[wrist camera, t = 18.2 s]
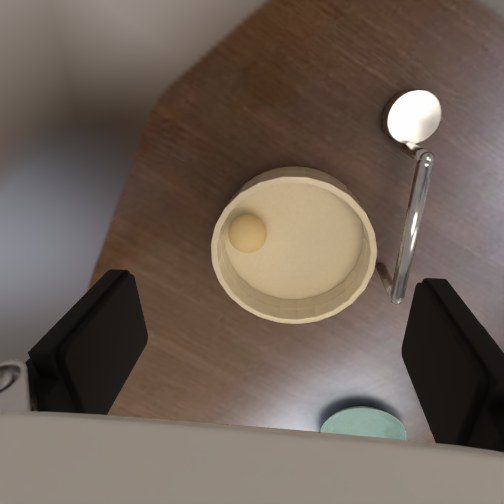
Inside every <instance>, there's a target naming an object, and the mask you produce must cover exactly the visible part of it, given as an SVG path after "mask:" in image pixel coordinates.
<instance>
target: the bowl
mask: <svg viewBox="0 0 504 504" xmlns="http://www.w3.org/2000/svg"><path fill="white" fill-rule="evenodd" d="M246 214H250V215H254V216H256V217H258V218H259V219H261V220H262V222H263V223H264V225H265V227H266V231H267V237H266V241H265V243H264V244H263V246H262V247H261V248H260V249H259V250H257V251H255V252H252V253H243V252H240V251H238V250H236V249H235V248H234V247H233V246H232V244H231V243H230V240H229V237H228V230H229V227H230V225H231V223H232V222H233V220H234V219H236V218H237V217H239V216H241V215H246ZM211 253H212V264H213V267H214V270H215V272H216V275H217V278H218V280H219V282H220V284H221V285H222V286H223V288H224V289H225V291H226V292H227V293H228V295H229V296H230V297H231V298H232V299H233V300H234V301H236V302H237V303H238V304H239V305H240V306H241V307H242V308H244V309H245V310H247V311H249V312H251V313H253V314H255V315H257V316H259V317H261V318H264V319H268V320H271V321H275V322H279V323H292V324H301V323H308V322H315V321H319V320H322V319H325V318H327V317H330V316H333V315H335V314H337V313H338V312H340V311H341V310H343V309H344V308H346V307H347V306H349V305H350V304H352V303H353V302H354V301H355V300H356V298H357V297H358V296H359V295H360V294H361V293H362V292H363V291H364V290H365V288H366V286H367V284H368V282H369V280H370V278H371V276H372V274H373V272H374V268H375V262H376V256H377V246H376V239H375V232H374V229H373V227H372V225H371V223H370V221H369V219H368V217H367V215H366V213H365V211H364V209H363V207H362V205H361V203H360V202H359V200H358V199H357V198H356V196H355V195H354V194H353V193H352V191H351V190H350V189H349V188H348V187H347V186H346V185H344V184H343V183H342V182H340V181H339V180H338V179H336V178H335V177H333V176H331V175H329V174H327V173H325V172H322V171H319V170H316V169H312V168H307V167H297V166H293V167H282V168H276V169H272V170H269V171H266V172H263V173H261V174H259V175H257V176H255V177H254V178H252V179H251V180H249V181H248V182H246V183H245V184H244V185H243V186H242V187H241V188H239V190H238V191H237V192H236V193H235V194H234V195H233V196H232V197H231V199H230V201H229V202H228V204H227V205H226V207H225V209H224V211H223V212H222V214H221V216H220V218H219V220H218V221H217V223H216V225H215V228H214V233H213V237H212V242H211Z"/></svg>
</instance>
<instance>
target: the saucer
mask: <svg viewBox="0 0 504 504" xmlns="http://www.w3.org/2000/svg"><path fill="white" fill-rule="evenodd" d="M320 432H323V433H335V434H346V435H357V436H369V437H380V438H392V439H401V440H406V437H407V436H406V429H405V427H404V425H403V424H402V423H401V422H400V421H399V420H398V419H397V418H396V417H394V416H393V415H391V414H389V413H387V412H385V411H382V410H380V409H377V408H373V407H367V406H355V407H349V408H345V409H343V410H340V411H338V412H336V413H335V414H333V415H332V416H330V417H329V418H328V419H327V420H326V421H325V422H324V423H323V425H322V426H321V429H320Z"/></svg>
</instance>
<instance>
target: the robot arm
mask: <svg viewBox="0 0 504 504" xmlns="http://www.w3.org/2000/svg"><path fill="white" fill-rule="evenodd" d="M147 339H148V334H147V329H146V325H145V321H144V316H143V312H142V308H141V303H140V299H139V295H138V291H137V286H136V282H135V278H134V276H133V275H132V274H130V273H129V272H128V271H127V270H109V271H107V272H106V273H105V274H104V275H103V276H102V277H101V279H100V280H99V281H98V282H97V283H96V284H95V285H94V286H93V287H92V288H91V289H90V290H89V291H88V292H87V293H86V294H85V295H84V296H83V297H82V298H81V299H80V300H79V301H78V302H77V303H76V304H75V305H74V306H73V307H72V308H71V309H70V310H69V311H68V312H67V313H66V314H65V315H64V316H63V317H62V318H61V319H60V320H59V321H58V322H57V323H56V324H55V325H54V326H53V327H52V329H50V330H49V332H48V333H47V334H46V335H45V336H44V337H43V338H42V339H41V340H40V341H39V342H38V343H37V344H36V345H35V346H34V347H33V348H32V349H31V350H30V351H29V352H28V354H29V356H30V359H28V360H27V362H26V363H24V362H22V361H20V360H6V361H2V362H0V504H504V353H503V352H502V350H501V349H500V348H499V346H498V345H497V344H496V343H495V341H494V340H493V339H492V337H491V336H490V335H489V333H488V332H487V331H486V330H485V328H484V327H483V326H482V325H481V324H480V322H479V321H478V320H477V319H476V317H475V316H474V315H473V313H472V312H471V311H470V310H469V308H468V307H467V306H466V304H465V303H464V302H463V300H462V299H461V298H460V297H459V295H458V294H457V293H456V291H455V290H454V289H453V288H452V286H451V285H450V284H449V282H448V281H447V280H446V279H435V278H425V279H424V280H423V281H422V283H417V285H416V288H415V292H414V296H413V301H412V305H411V309H410V314H409V318H408V322H407V327H406V331H405V336H404V340H403V344H402V358H403V361H404V363H405V366H406V368H407V371H408V373H409V376H410V378H411V381H412V383H413V386H414V389H415V391H416V394H417V396H418V399H419V401H420V404H421V406H422V409H423V411H424V414H425V416H426V419H427V422H428V424H429V427H430V429H431V432H432V434H433V437H434V439H435V442H436V443H430V442H421V441H411V440H401V439H392V438H380V437H369V436H357V435H346V434H335V433H323V432H312V431H300V430H289V429H277V428H265V427H253V426H240V425H228V424H216V423H203V422H191V421H178V420H165V419H152V418H139V417H126V416H113V415H107V413H108V412H109V410H110V408H111V406H112V405H113V403H114V401H115V399H116V397H117V396H118V394H119V392H120V390H121V388H122V387H123V385H124V383H125V381H126V380H127V378H128V376H129V374H130V372H131V371H132V369H133V367H134V365H135V364H136V362H137V360H138V358H139V356H140V355H141V353H142V351H143V349H144V347H145V346H146V344H147Z"/></svg>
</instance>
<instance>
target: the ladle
mask: <svg viewBox="0 0 504 504" xmlns="http://www.w3.org/2000/svg"><path fill="white" fill-rule="evenodd" d="M441 114H442V110H441V104H440V102H439V100H438V98H437V97H436V96H435V95H434V94H433V93H432V92H430V91H427V90H423V89H409V90H405V91H402V92H400V93H398V94H396V95H395V96H394V97H393V98H392V99H391V100H390V101H389V102H388V103H387V105H386V107H385V109H384V111H383V115H382V126H383V129H384V131H385V133H386V134H387V135H388V136H389V137H390V138H391V139H393V140H395V141H397V142H399V143H402V146H401V151H402V152H403V153H405V154H407V155H408V156H410V157H412V158H413V159H415V160H416V161H418V162H417V164H416V169H415V174H414V179H413V184H412V189H411V194H410V199H409V204H408V209H407V214H406V219H405V224H404V229H403V234H402V238H401V243H400V248H399V253H398V258H397V263H396V268H395V273H394V278H393V279H392V277H391V275H390V273H389V271H388V269H387V267H386V266H385V265H384V264H379V265H378V266H377V271H378V273H379V275H380V278H381V280H382V282H383V285H384V287H385V289H386V291H387V294H388V296H389V298H390V300H391V302H392V303H393V304H400V303H401V301H402V300H403V298H404V295H405V291H406V286H407V282H408V278H409V273H410V269H411V264H412V260H413V255H414V251H415V246H416V242H417V238H418V233H419V229H420V224H421V220H422V215H423V211H424V206H425V202H426V198H427V193H428V189H429V184H430V180H431V175H432V171H433V166H434V161H433V159H434V155H433V153H432V152H430V151H428V150H426V149H424V148H422V147H419V146H417V145H415V144H416V143H419V142H422V141H424V140H425V139H427V138H428V137H429V136H430V135H431V134H432V133H433V132H434V131H435V130H436V128H437V126H438V125H439V122H440V119H441Z"/></svg>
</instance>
